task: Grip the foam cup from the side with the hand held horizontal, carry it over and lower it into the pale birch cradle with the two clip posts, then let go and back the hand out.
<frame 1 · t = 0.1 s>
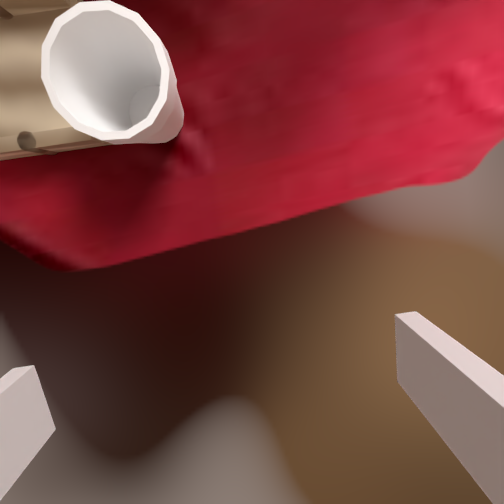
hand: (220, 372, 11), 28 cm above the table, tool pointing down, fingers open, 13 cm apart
cradle: (34, 84, 34), on the table
foam cup: (157, 115, 35), on the table
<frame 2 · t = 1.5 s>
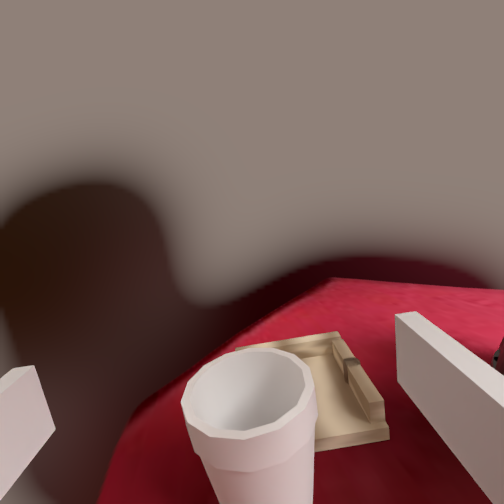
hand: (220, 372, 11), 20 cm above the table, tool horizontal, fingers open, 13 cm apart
cradle: (300, 399, 37), on the table
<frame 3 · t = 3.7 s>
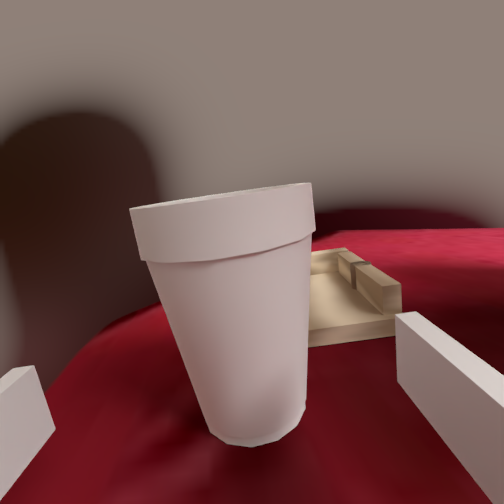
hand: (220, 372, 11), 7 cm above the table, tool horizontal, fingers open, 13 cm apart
cradle: (298, 309, 31), on the table
foam cup: (255, 406, 19), on the table
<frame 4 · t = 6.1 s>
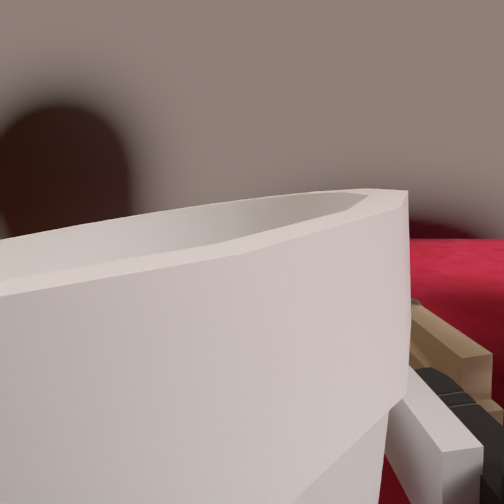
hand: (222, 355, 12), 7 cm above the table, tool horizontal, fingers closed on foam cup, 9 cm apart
cradle: (313, 366, 22), on the table
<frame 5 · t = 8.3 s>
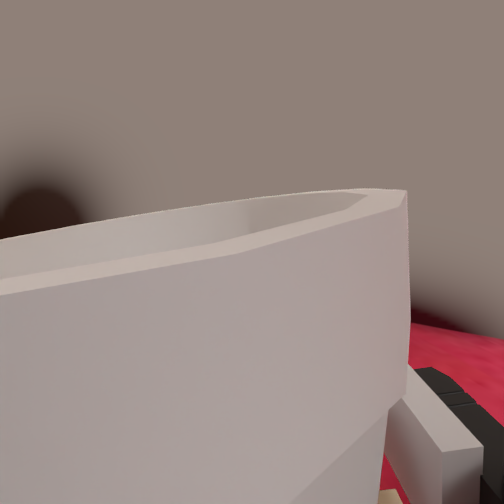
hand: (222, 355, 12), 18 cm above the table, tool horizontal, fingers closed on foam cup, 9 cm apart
when the fingers open (10 cm above the table, at t = 10.5 s): foam cup drops 1 cm, resting on cradle.
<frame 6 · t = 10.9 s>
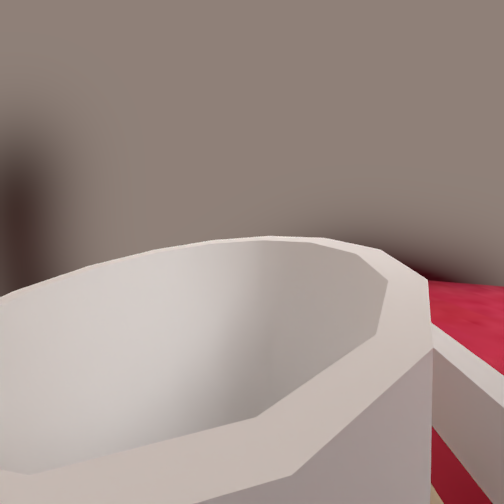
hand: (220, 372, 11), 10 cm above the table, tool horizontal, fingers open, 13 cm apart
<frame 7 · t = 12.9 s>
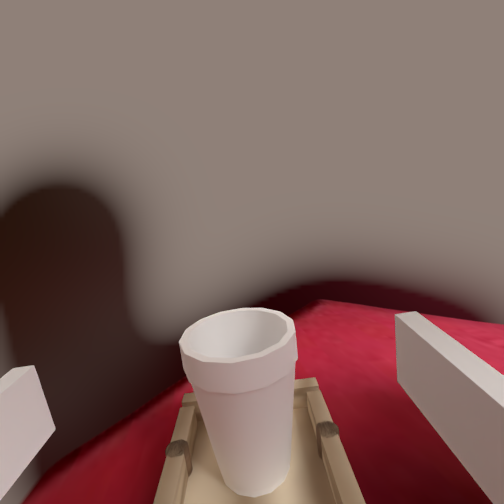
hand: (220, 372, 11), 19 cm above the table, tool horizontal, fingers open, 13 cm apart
cradle: (257, 475, 28), on the table
foam cup: (255, 464, 27), point 1 cm above the table, touching cradle
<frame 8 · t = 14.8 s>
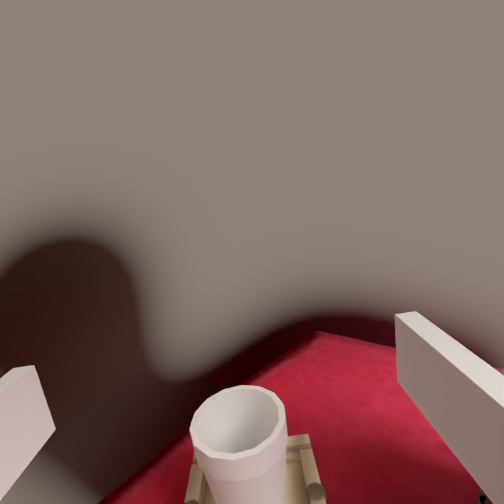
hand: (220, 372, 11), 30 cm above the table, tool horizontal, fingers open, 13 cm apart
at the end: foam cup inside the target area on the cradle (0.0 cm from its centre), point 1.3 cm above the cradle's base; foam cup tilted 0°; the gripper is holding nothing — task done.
